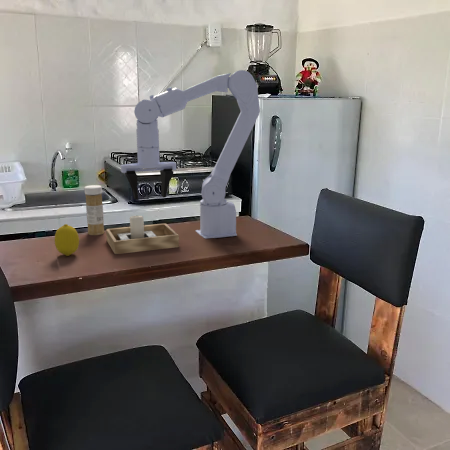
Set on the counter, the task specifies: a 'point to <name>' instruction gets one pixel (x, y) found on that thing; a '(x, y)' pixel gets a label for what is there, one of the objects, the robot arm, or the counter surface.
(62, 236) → the lemon
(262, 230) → the counter surface
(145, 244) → the crate
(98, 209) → the sprinkles bottle
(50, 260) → the counter surface
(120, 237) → the plate
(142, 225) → the peg
